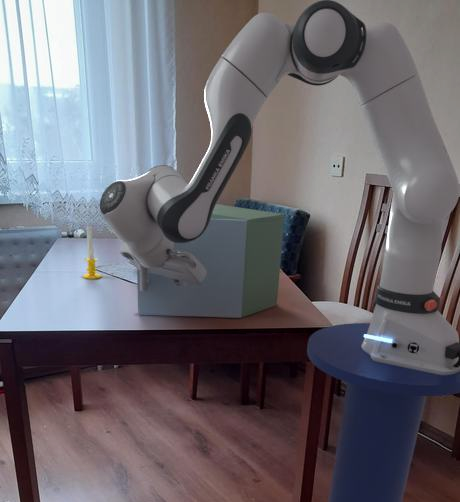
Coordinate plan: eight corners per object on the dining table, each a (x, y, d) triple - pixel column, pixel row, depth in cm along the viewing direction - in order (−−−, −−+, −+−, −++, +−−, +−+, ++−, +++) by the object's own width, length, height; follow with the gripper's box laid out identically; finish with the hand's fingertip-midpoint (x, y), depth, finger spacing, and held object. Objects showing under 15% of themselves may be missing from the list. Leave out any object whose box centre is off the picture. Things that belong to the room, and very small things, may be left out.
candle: (103, 275, 173) (100, 223, 166) (97, 279, 168) (94, 226, 161) (86, 274, 173) (83, 222, 166) (81, 278, 169) (77, 225, 162)
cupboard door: (242, 324, 136) (248, 224, 125) (135, 321, 134) (132, 219, 123) (240, 316, 141) (246, 220, 131) (138, 313, 140) (135, 215, 129)
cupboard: (242, 317, 142) (248, 219, 131) (168, 296, 155) (168, 206, 144) (276, 305, 153) (284, 214, 142) (204, 286, 167) (207, 202, 156)
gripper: (195, 242, 116) (222, 281, 128) (127, 229, 127) (158, 265, 138) (181, 266, 115) (209, 303, 126) (114, 251, 126) (145, 286, 137)
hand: (182, 283), depth 132 cm, fingers closed
